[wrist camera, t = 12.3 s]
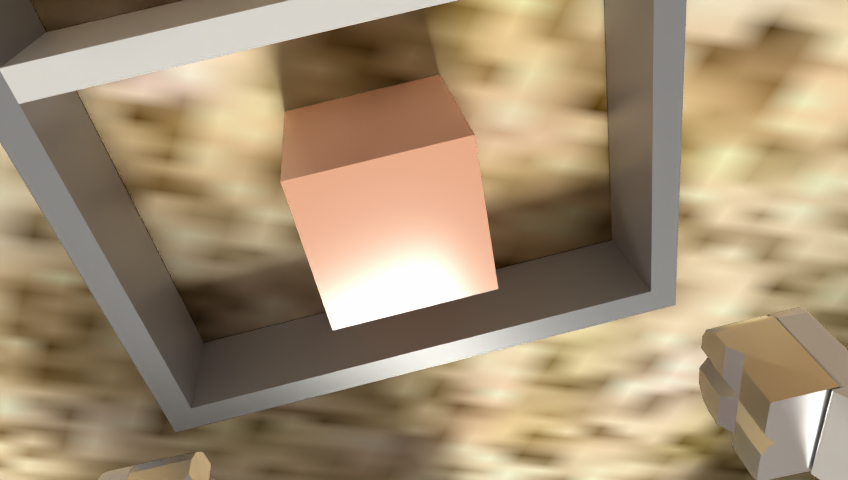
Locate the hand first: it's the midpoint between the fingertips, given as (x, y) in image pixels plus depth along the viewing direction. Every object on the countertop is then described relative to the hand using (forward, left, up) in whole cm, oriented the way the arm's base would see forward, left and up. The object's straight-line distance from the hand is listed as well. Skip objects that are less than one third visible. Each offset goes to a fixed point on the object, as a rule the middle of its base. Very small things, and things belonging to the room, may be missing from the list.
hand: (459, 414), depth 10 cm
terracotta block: (0, 0, -11) cm, 11 cm away
